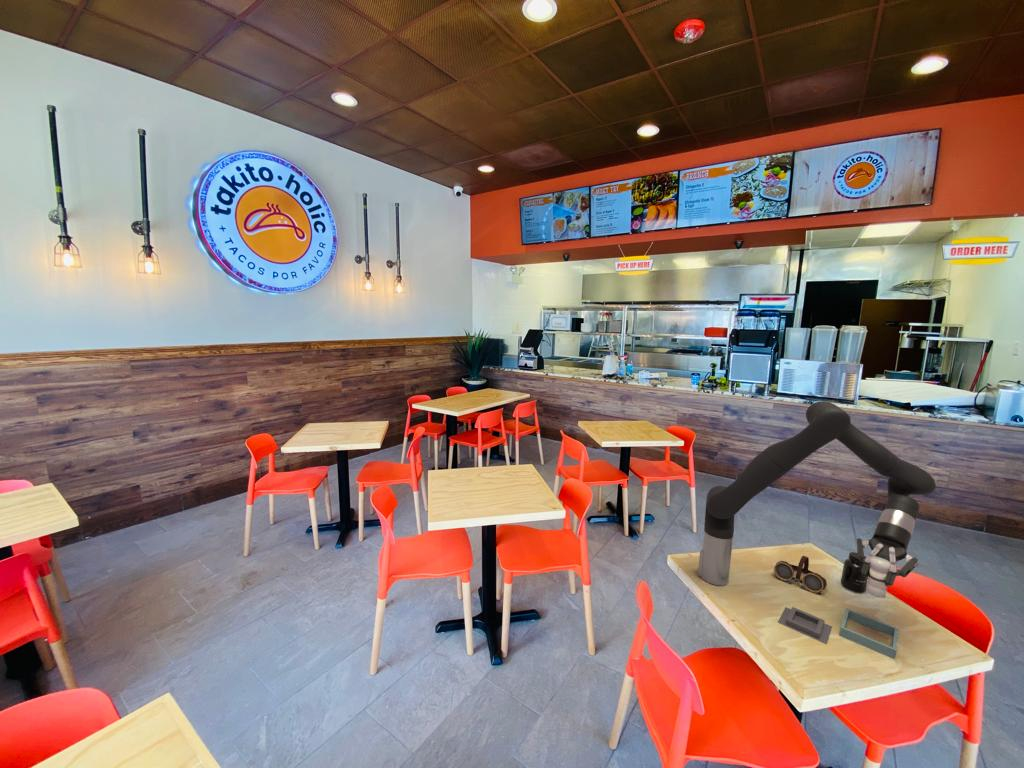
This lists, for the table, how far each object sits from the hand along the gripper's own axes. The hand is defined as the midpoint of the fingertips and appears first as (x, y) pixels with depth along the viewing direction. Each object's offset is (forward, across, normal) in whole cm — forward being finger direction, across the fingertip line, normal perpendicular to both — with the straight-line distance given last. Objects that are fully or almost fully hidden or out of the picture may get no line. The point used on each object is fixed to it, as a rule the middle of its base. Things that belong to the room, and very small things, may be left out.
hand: (875, 580), depth 117 cm
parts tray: (+12, 0, +15) cm, 19 cm away
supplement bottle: (-6, -11, +34) cm, 36 cm away
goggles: (+1, -23, +26) cm, 35 cm away
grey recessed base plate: (+19, -12, +8) cm, 24 cm away
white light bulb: (+2, 0, +5) cm, 5 cm away
